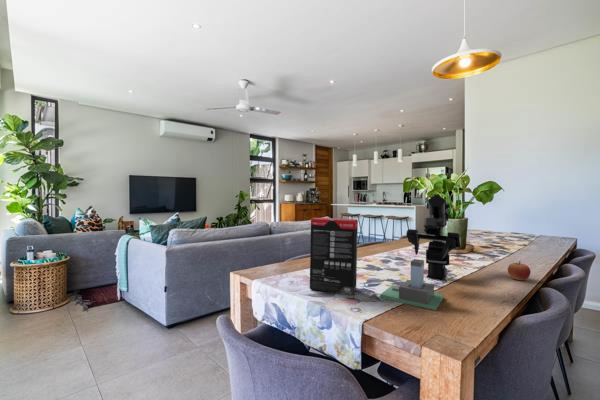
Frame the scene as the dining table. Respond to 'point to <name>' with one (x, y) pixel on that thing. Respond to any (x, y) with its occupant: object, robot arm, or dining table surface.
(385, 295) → the header board
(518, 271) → the apple
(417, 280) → the light blue tall block
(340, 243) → the graphics card box
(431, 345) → the dining table surface
